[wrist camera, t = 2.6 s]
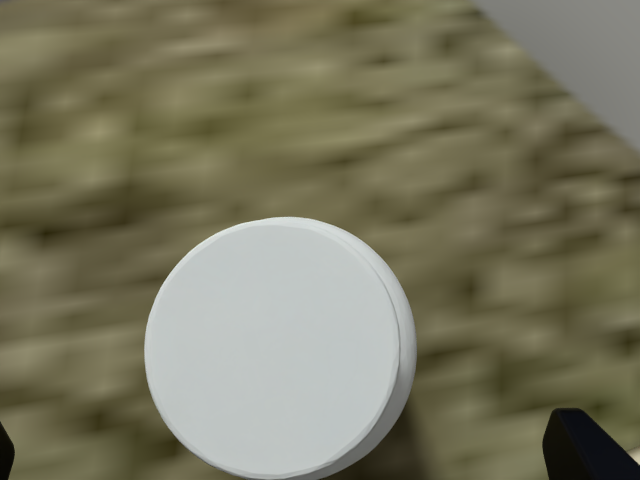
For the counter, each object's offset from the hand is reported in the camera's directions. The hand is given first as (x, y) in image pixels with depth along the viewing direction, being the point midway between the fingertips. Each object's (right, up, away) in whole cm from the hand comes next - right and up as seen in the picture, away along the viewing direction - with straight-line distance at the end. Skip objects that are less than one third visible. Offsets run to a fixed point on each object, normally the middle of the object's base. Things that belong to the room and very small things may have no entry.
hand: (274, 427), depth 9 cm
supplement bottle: (0, 0, +9) cm, 9 cm away
